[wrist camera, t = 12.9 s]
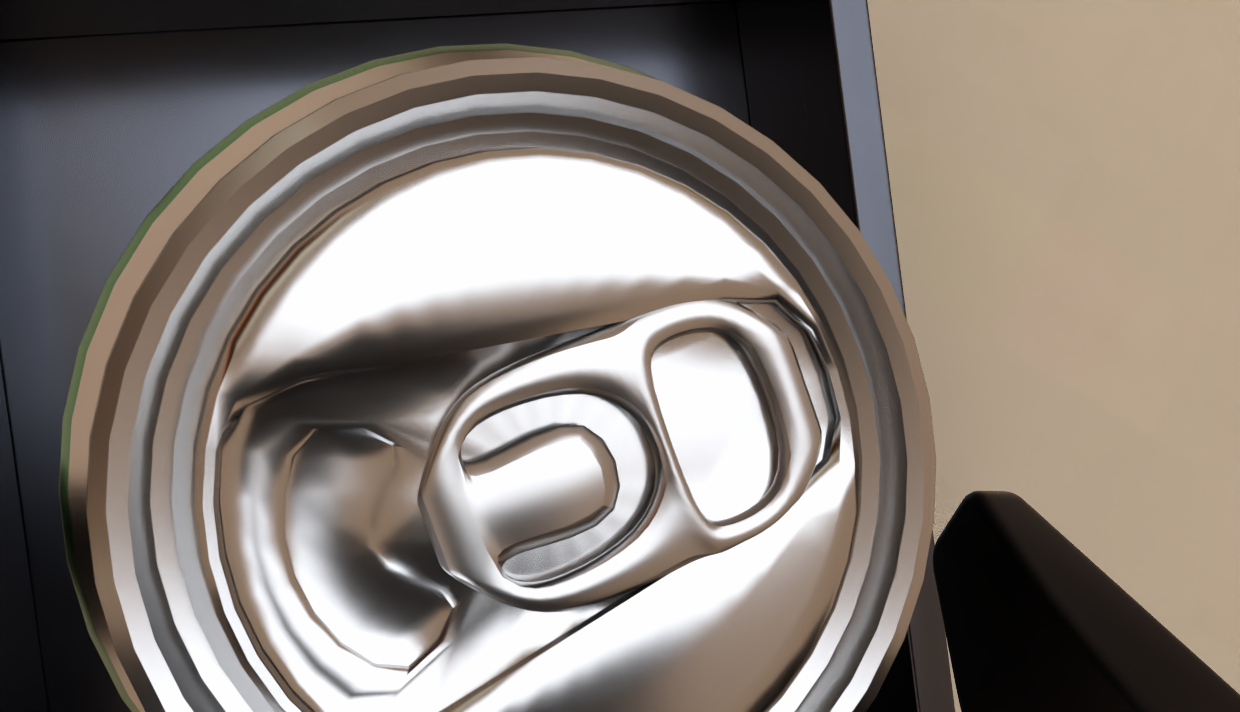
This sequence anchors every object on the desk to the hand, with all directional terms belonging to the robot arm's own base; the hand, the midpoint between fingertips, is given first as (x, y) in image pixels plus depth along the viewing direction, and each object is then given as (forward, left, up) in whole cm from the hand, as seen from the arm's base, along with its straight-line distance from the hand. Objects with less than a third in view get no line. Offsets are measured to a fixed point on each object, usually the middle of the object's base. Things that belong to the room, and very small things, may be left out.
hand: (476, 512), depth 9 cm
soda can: (+1, 0, -8) cm, 8 cm away
